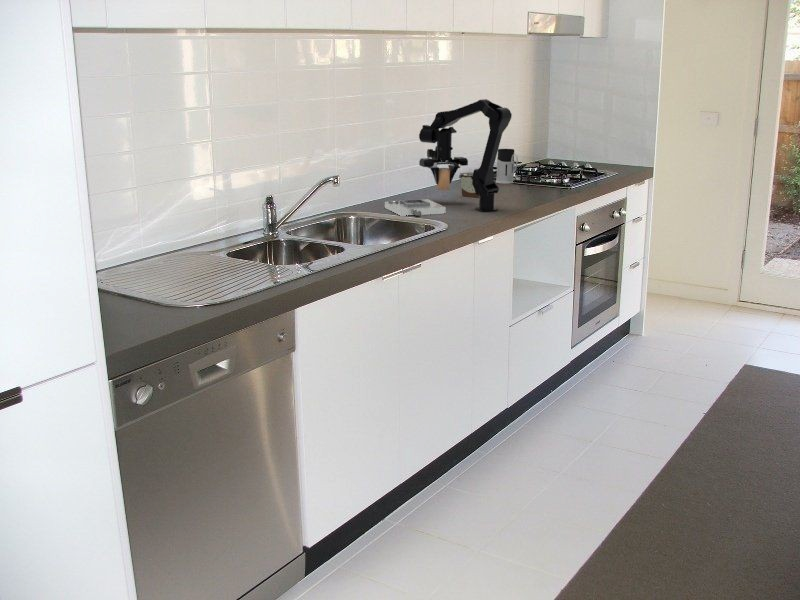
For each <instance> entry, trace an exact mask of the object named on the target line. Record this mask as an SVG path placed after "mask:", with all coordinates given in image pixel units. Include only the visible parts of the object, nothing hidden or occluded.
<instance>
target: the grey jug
mask: <svg viewBox="0 0 800 600" xmlns="http://www.w3.org/2000/svg"><path fill="white" fill-rule="evenodd" d="M496 158H497V160H496V161H497V162H496V179H495V184H496V183H497V184H504V185H505V184H514V183H513V181H514V182H515V180H514V175H515V173H516V170H517V168H518V161H519V159H518V155H517V154H515V149H514V148H498V152H497V157H496ZM515 159H516V160H515Z"/></svg>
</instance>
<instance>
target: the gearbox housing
mask: <svg viewBox="0 0 800 600" xmlns="http://www.w3.org/2000/svg"><path fill="white" fill-rule="evenodd" d="M384 208H385V209H386V210H388V211H390V212H391V211H392V213H393V212H394V214H395V213H396V214H395V215H397V214H398V215H397V216H399V215H400V216H399V217H409V216H408V215H415V216H417V217H420V216H428V215H430V214H431V215H445V214H446V209H447V208H446V206H444V205H441V204H440V203H438V202H435V201H433V200H431V199H428V198H427V199H422V198H420V199H419V198H417V199H416V198H415V199H400V200H397V199H396V200H395V199H390V200H388V201H384ZM444 213H445V214H444ZM406 215H407V216H406ZM431 215H430V216H431Z"/></svg>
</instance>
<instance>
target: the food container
mask: <svg viewBox="0 0 800 600" xmlns="http://www.w3.org/2000/svg"><path fill="white" fill-rule="evenodd" d="M473 172H474V171H473ZM473 172H472V171H471V172H470V171H469V172H468V171H467V172H460V173H459V176H458V178H459V179H460V180H459V181H460V194H461V198H463V199H473V200H474V199H475V200H479V195H476V192H475V189H474V187H473V185H472V180H471V179H472V177H473Z"/></svg>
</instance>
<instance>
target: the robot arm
mask: <svg viewBox="0 0 800 600" xmlns="http://www.w3.org/2000/svg"><path fill="white" fill-rule="evenodd" d="M480 112H481V113H482V115H484V116H485V117H486V118H488V125H489V126H488V128H489V134H488V136H487V141H486V145H485V148H484V152H483V156H482V161H481V164H480V167H479V168H474V169H473V177H472V179H471V180H472V185H473V187H474V189H475V192H476V195H479V199H478V207H477V206H476V207H475V209H476V210H478V211H481V212H494V211H496V212H497V211H498V209H497V208H495V194H498V193H499V190H500V188H499V186H498V185H497V184H496V181H495V173H494V165H495V163H496V158H497V156H498V149H500V144H501V140H502V136H503V133H504V131H505V130H506V129H507V128H508V126H509V124H510V121H511V120H512V116H513V115H512V111H511V110H510V109H509V108H508V107H503V106H501V105H498V104H496V103H494V102H492V101H491V100H489V99H486V98H484V99H483V98H482V99H479V100H477V101H474V102H473V103H470V104H467V105H464V106H461V107H459V108H456V109H452V110H446V111H439V112H437V113H436V114H435V116H434V120H433V121H432V123H431V125H429V124H424V125H422V127H421V129H420V130H419V134H418V138H419V142H421V143H428V144H436V146H435V149H432V148H427V149H426V158H425V157H423V158H422V157H421V158H420V159H419V162H418V164H419V166H421V167H423V168H428V169H430V172H431V173H432V175H433V179H434V182H435V184H436V185H437V184H438V181H439V168H440V167H438V165H439V166H440V165H447V168H449V169H450V184H451V183H452V181H453V178H455V175H456V173H457V171H458V169H461V167H462V166H463V167H464V166H468V165H469V160H468V158H467V157H464V156H454V157H452V151H453V149H454V148H453V146H452V138H453V137H452V135H453V134H456V133H457V130H456V129H455V128H454V126H453V125H455V124H456V123H457V122H459V121H460V120H462V119H464V118H466V117H470V116H472V115H474V114H478V113H480Z"/></svg>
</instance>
